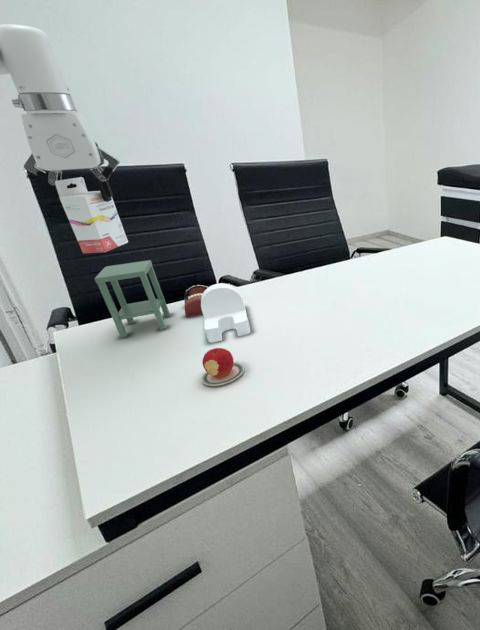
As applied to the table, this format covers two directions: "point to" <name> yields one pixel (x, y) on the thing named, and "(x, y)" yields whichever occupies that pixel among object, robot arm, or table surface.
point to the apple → (220, 367)
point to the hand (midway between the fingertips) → (88, 201)
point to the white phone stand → (223, 311)
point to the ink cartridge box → (91, 217)
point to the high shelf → (126, 309)
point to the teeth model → (194, 300)
